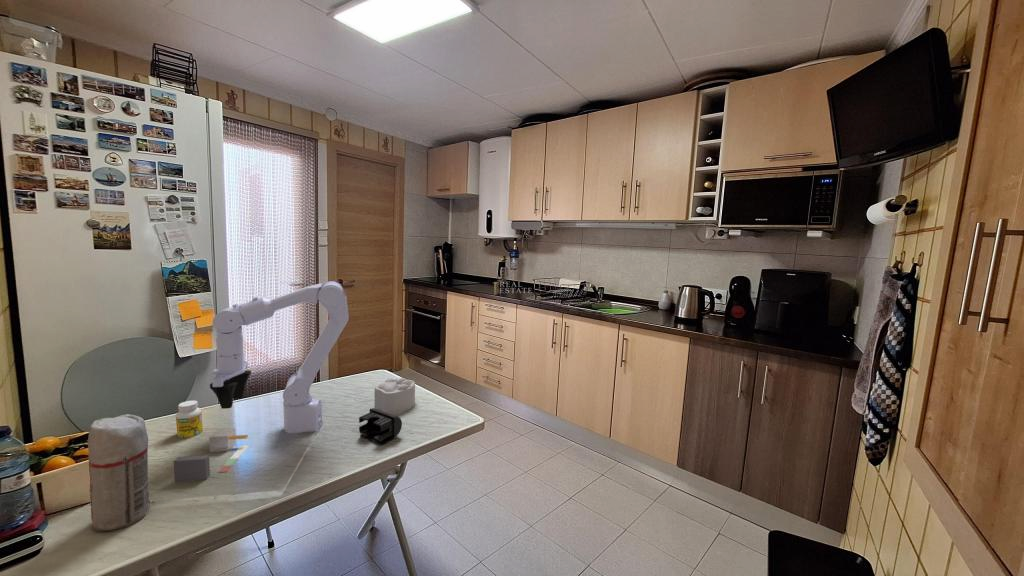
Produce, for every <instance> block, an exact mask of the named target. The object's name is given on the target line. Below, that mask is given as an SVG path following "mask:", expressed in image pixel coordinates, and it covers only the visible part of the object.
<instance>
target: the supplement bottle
mask: <svg viewBox="0 0 1024 576" xmlns="http://www.w3.org/2000/svg"><path fill="white" fill-rule="evenodd" d="M198 406H199V404H198V401H197V400H186V401H183V402H180V403H179V404H178V412H177V413H176V415H175V421H176V422H175V423H176V433H177V438H180V439H187V438H188V439H189V438H192V437H195V436H196V437H197V436H198V435H200V434H202V433H203V432H204V431H203V430H204V429H203V427H204V426H203V413H202V409H201V408H200V407H198Z"/></svg>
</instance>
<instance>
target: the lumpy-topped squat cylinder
mask: <svg viewBox="0 0 1024 576" xmlns="http://www.w3.org/2000/svg"><path fill="white" fill-rule="evenodd" d="M415 400H416V382H415V381H414V380H412V379H409V378H408V379H406V378H404V377H400V378H398V379H397V378H395V379H394V378H392V377H389V378H387V379H385V381H384V382H381V383H379V384H377V385H375V386H374V408H375V409H378V410H380V411H383V412H386V413H389V414H391V415H397V414H400V413H403V412H405V411H408V410H410V409H412V408H413V407H414V406H415V404H416V401H415Z"/></svg>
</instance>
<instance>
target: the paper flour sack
mask: <svg viewBox="0 0 1024 576" xmlns="http://www.w3.org/2000/svg"><path fill="white" fill-rule="evenodd" d="M147 432H148V431H147V427H146V421H145V419H144V418H142V417H140V416H138V415H134V414H128V413H127V414H122V415H117V416H115V417H103V418H100V419H96V420H94V421H93V422H92V423H91V425H90V427H89V432H88V438H87V449H88V471H89V493H90V494H89V496H90V510H91V511H90V514H91V515H90V517H91V523H92V524H91V530H92V531H96V532H105V531H106V532H107V531H112V530H118V529H121V528H122V529H123V528H125V527H129V526H130V525H132V524H134V523H136V522H139V521H140V520H142V519H143V518H144V517H145V516H146V514H148V511H149V509H150V506H149V505H150V501H149V499H150V498H149V497H150V496H149V494H150V492H149V472H148V470H149V468H148V467H149V465H148V463H149V461H148V459H149V458H148V457H149V454H148V453H149V452H148V449H149V448H148V446H149V435H148V433H147Z"/></svg>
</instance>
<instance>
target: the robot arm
mask: <svg viewBox="0 0 1024 576" xmlns="http://www.w3.org/2000/svg"><path fill="white" fill-rule="evenodd" d="M306 302H308V303H311V304H315V305H317V304H318V302H319V303H320V304H321V306H323V308H325V310H326V312H327V314H328V317H329V319H328V321H327V323H326V324H325V326H324V327H323V328H322V331H321V332H320V334H319V335H318V338H317V339H316V341H315V342H314V344H313V346H312V348H311V349H310V351H309V352H308V354H307V356H306V358H305V359H304V361H303V363H302V364H301V365H300V367H299V368H298V369H297V371H296V372H295V373H293V375H291V376H290V377H289V378H288V380H287V382H286V386H285V389H283V393H282V398H283V401H282V403H283V404H282V405H283V428H284V429H283V430H284V432H285V433H288V434H300V433H306V432H309V433H310V432H315V433H314V435H313V436H314V437H315V436H317V434H318V432H319V430H320V428H321V427H322V425H323V423H324V422H323V405H322V400H321V399H316V398H313V396H312V395H311V393H310V390H311V386H312V384H313V383H314V380H315V379H316V377H317V375H318V374H317V373H318V372H319V370H320V369H321V367H322V365H323V364H324V363H325V360H326V358H327V357H328V356H329V354H330V353H331V350H332V348H333V347H334V345H335V344H336V342H337V341H338V339H339V337H340V335H341V333H342V332H343V330H344V328H345V327H346V325H347V324H348V322H349V309H348V308H349V307H348V300H347V294H346V291H345V290H344V287H343V286H342V285H341V284H340V283H339V282H338V281H332V280H331V281H330V280H329V281H327V282H325V283H316V284H312V285H309V286H306V287H303V288H300V289H297V290H294V291H291V292H289V293H286V294H284V295H280V296H278V297H275V298H272V299H270V298H268V297H263V296H262V297H259V296H256V297H253V298H252V299H251V300H250V301H247V302H244V303H241V304H239V305H238V304H237V303H236V304H235V303H234V304H232V306H231V307H227V308H226V307H225V308H224V309H222V310H221V311H219V312H217V313H216V314H215V315H214V317H213V319H212V326H213V328H214V329H215V331H216V332H215V333H216V336H215V337H216V338H215V340H216V341H215V342H216V345H215V346H216V361H217V362H216V363H217V364H216V365H217V368H215V369H213V370H212V374H214V375H215V376H214V378H213V379H212V382H211V383H210V384H209V388H210V390H212V391H213V393H214V394H215V396H216V398H217V400H218V404H219V406H220V408H221V409H231V408H232V406H233V404H234V400H235V399H237V400H238V399H243V397H244V394H245V389H246V385H247V382H248V380H249V378H250V376H251V374H252V370H250V369H249V370H248V368H249V364H248V361H249V360H248V361H247V360H245V358H244V357H245V355H244V352H245V351H244V350H245V349H244V335H243V326H249V325H252V324H256V323H258V322H261V321H264V320H266V319H269V318H272V317H273V316H274V315H275V312H276V311H279V310H282V309H285V308H288V307H293V306H295V305H298V304H301V303H306Z"/></svg>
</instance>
